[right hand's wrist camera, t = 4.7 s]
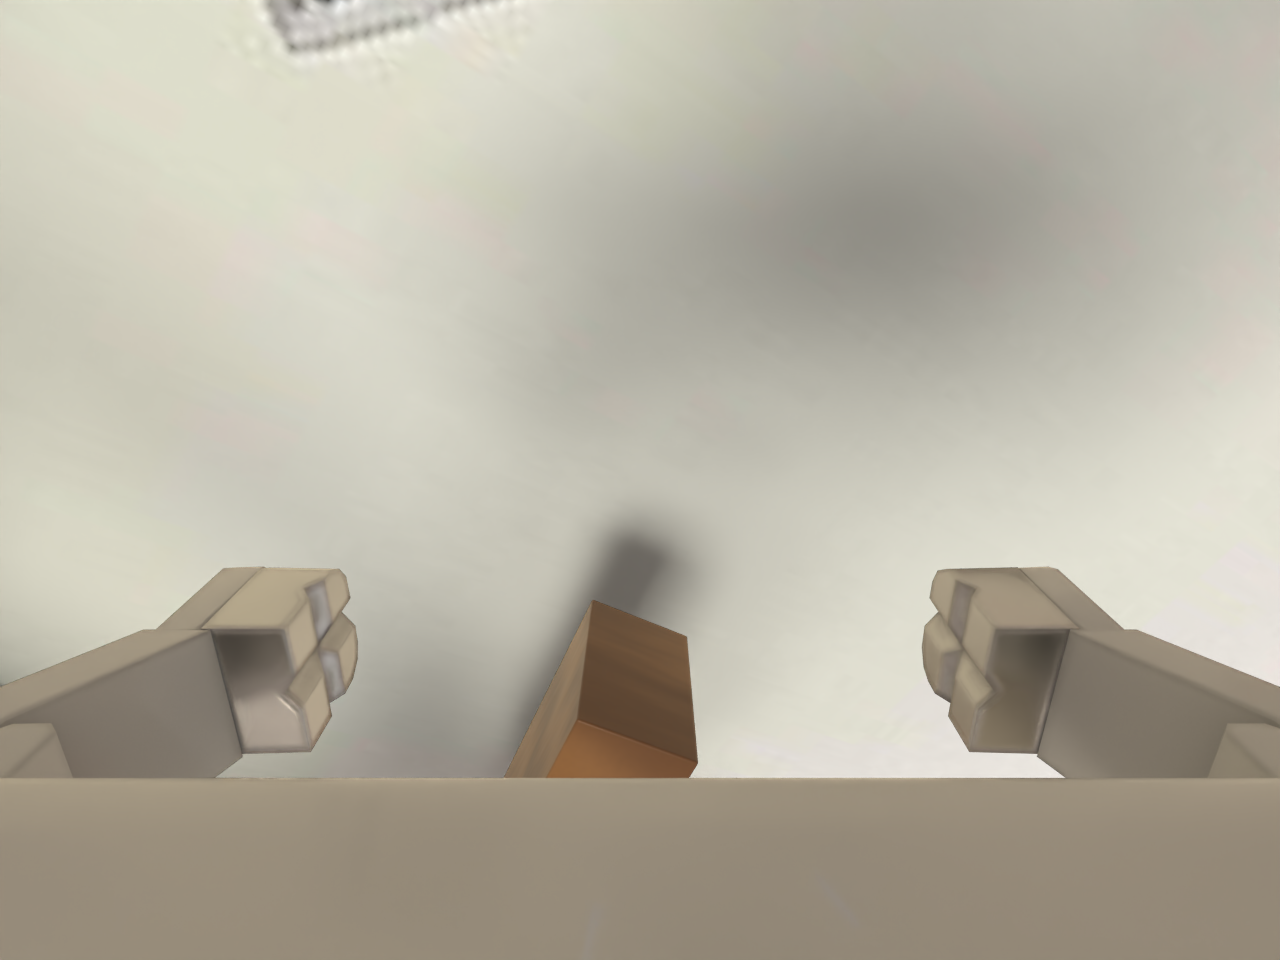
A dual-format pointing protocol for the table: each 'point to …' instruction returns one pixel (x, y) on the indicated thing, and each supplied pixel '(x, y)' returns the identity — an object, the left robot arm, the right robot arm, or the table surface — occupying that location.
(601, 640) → the bar
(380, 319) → the table surface
